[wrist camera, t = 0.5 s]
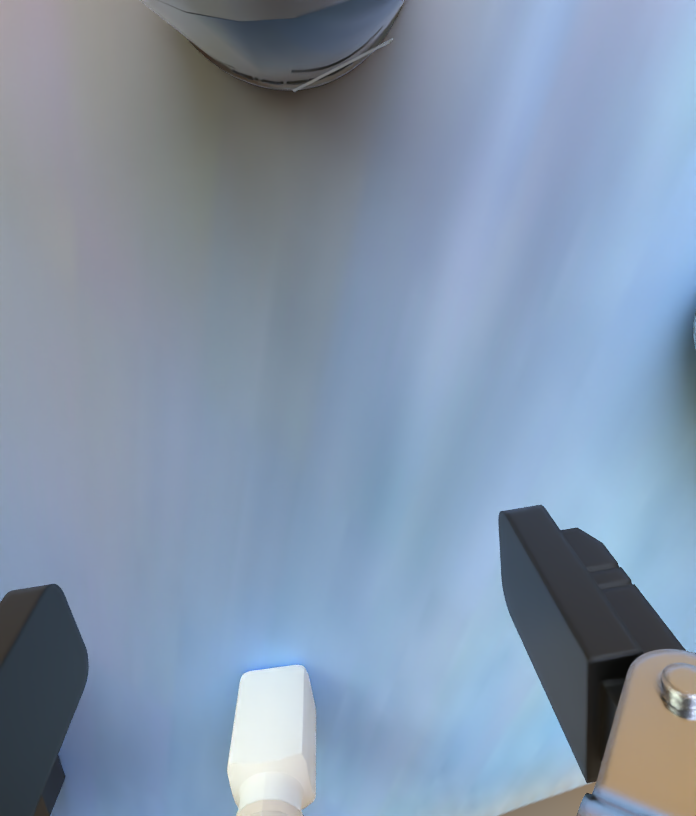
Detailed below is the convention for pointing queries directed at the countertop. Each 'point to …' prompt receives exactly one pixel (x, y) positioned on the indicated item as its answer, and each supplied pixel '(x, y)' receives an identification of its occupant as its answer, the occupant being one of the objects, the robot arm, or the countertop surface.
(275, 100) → the countertop surface
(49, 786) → the scale
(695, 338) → the cup
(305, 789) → the salt shaker
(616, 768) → the robot arm
